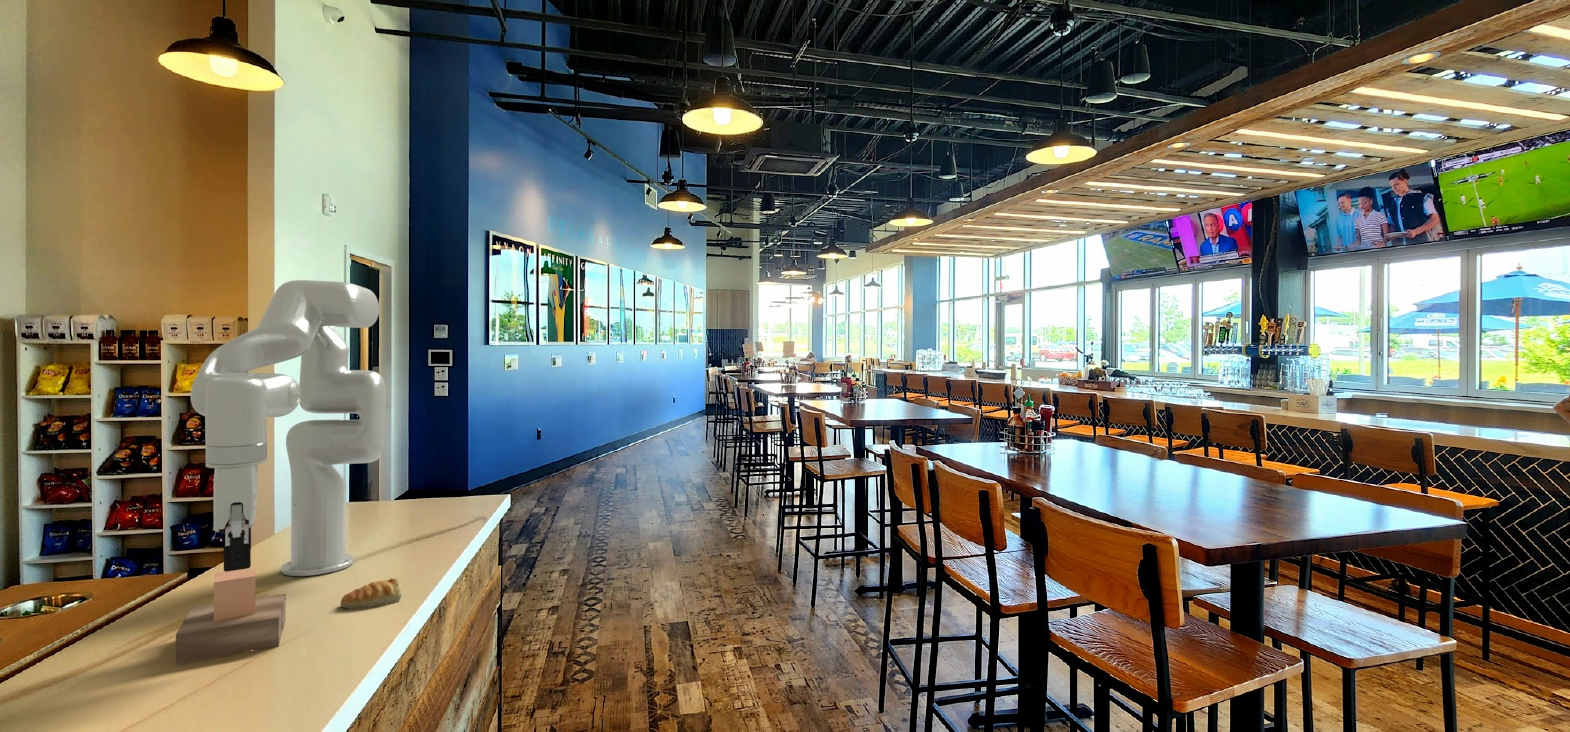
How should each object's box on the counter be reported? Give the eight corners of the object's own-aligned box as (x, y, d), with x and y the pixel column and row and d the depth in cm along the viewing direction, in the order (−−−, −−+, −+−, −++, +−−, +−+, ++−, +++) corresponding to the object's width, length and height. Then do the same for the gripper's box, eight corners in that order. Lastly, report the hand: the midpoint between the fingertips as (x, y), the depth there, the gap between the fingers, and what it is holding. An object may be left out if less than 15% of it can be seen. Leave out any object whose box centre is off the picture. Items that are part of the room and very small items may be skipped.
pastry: (345, 615, 116) (345, 593, 116) (336, 605, 121) (336, 584, 121) (404, 601, 123) (404, 581, 123) (393, 592, 128) (393, 573, 128)
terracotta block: (214, 611, 105) (214, 573, 105) (254, 604, 108) (255, 567, 108) (213, 621, 101) (213, 582, 101) (255, 613, 104) (255, 576, 104)
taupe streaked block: (192, 638, 106) (192, 607, 106) (285, 622, 113) (285, 593, 113) (175, 668, 96) (175, 634, 96) (278, 649, 103) (278, 617, 103)
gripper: (208, 448, 109) (209, 550, 110) (202, 466, 96) (203, 582, 96) (266, 444, 114) (267, 542, 114) (267, 461, 100) (268, 571, 101)
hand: (238, 560), depth 105 cm, fingers open, 9 cm apart
